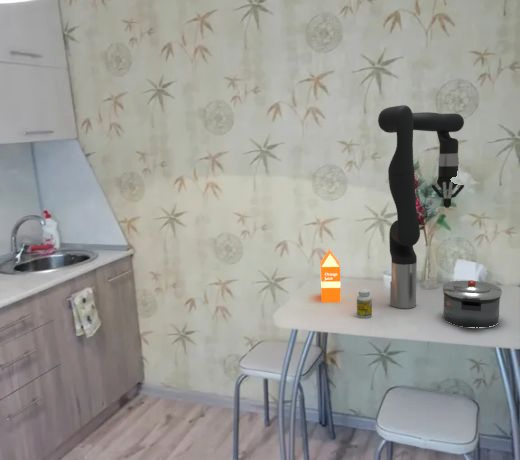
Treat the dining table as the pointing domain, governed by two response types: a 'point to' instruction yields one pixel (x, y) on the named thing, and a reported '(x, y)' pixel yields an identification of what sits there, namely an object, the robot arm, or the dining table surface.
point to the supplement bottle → (364, 304)
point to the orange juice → (330, 278)
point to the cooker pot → (471, 312)
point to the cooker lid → (472, 290)
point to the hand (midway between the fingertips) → (447, 207)
